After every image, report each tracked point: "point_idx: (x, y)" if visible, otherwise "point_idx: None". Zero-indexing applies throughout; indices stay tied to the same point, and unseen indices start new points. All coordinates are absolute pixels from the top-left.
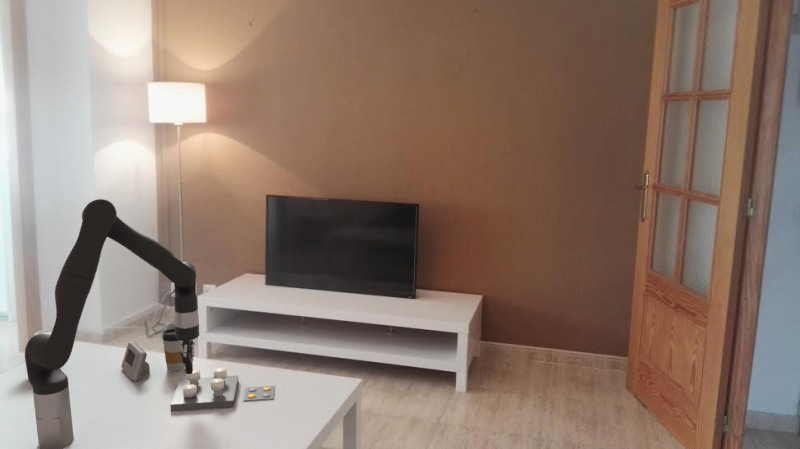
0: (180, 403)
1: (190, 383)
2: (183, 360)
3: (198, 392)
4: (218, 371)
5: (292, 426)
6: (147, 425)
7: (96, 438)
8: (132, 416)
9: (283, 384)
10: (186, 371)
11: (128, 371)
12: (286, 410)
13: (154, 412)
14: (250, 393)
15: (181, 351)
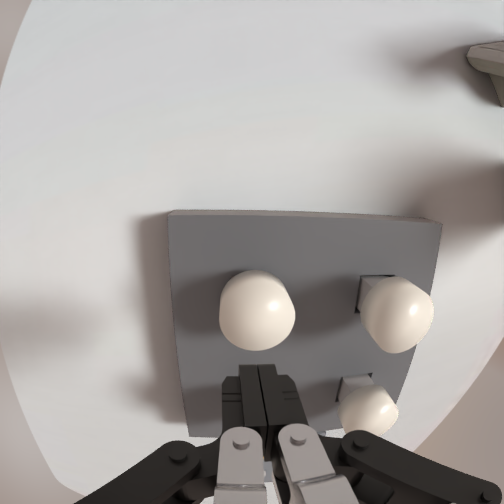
0: (175, 263)
1: (368, 287)
2: (115, 486)
3: None
4: (364, 422)
5: (102, 485)
6: (72, 140)
7: (39, 15)
8: (161, 56)
9: None
10: (222, 387)
11: (502, 43)
12: None
13: (180, 136)
14: None
15: None
